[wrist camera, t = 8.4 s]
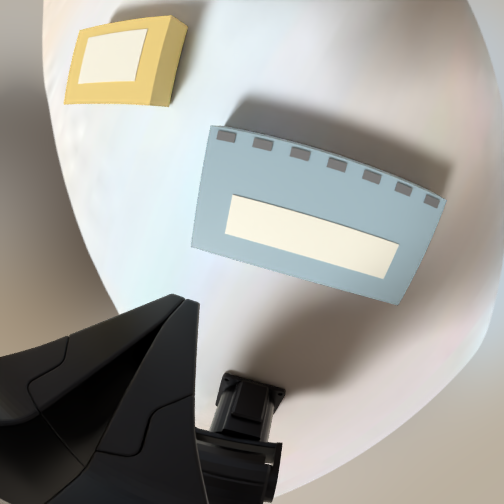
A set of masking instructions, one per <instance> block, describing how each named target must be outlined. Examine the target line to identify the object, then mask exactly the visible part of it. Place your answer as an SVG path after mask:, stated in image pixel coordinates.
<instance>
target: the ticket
mask: <svg viewBox="0 0 504 504" xmlns="http://www.w3.org/2000/svg"><path fill="white" fill-rule="evenodd" d="M446 201H447V200H445V199H444V198H442V197H440V196H439V195H437V194H435V193H434V192H432V191H430V190H428V189H426V188H424V187H422V186H419V185H417V184H415V183H412V182H410V181H408V180H405V179H403V178H401V177H398V176H396V175H393V174H391V173H388V172H386V171H383V170H380V169H378V168H375V167H372V166H370V165H367V164H364V163H361V162H359V161H356V160H353V159H350V158H347V157H344V156H341V155H338V154H335V153H331V152H328V151H325V150H322V149H318V148H315V147H312V146H308V145H305V144H301V143H297V142H294V141H290V140H286V139H282V138H278V137H274V136H270V135H265V134H261V133H257V132H252V131H247V130H243V129H238V128H233V127H227V126H210V131H209V136H208V142H207V147H206V152H205V158H204V163H203V169H202V175H201V181H200V187H199V193H198V199H197V206H196V213H195V220H194V227H193V234H192V242H191V247H193V248H196V249H199V250H203V251H206V252H210V253H213V254H216V255H220V256H223V257H227V258H230V259H234V260H237V261H240V262H244V263H247V264H251V265H254V266H258V267H261V268H265V269H268V270H272V271H275V272H279V273H282V274H286V275H289V276H293V277H296V278H300V279H303V280H307V281H311V282H314V283H318V284H321V285H325V286H329V287H332V288H336V289H339V290H343V291H347V292H350V293H354V294H358V295H361V296H365V297H369V298H372V299H376V300H380V301H383V302H387V303H391V304H395V305H399V303H400V301H401V299H402V298H403V296H404V294H405V292H406V290H407V288H408V286H409V285H410V283H411V281H412V279H413V277H414V275H415V273H416V271H417V269H418V267H419V265H420V263H421V261H422V259H423V256H424V254H425V252H426V250H427V248H428V246H429V243H430V241H431V239H432V236H433V234H434V232H435V229H436V227H437V224H438V222H439V219H440V217H441V214H442V212H443V209H444V206H445V204H446Z"/></svg>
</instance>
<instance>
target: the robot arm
mask: <svg viewBox="0 0 504 504" xmlns="http://www.w3.org/2000/svg"><path fill="white" fill-rule="evenodd" d="M199 310H200V304H199V303H198V302H196V301H193V300H190V299H186V300H185V298H184V297H181V296H178V295H175V294H169V295H167V296H165V297H162V298H160V299H157V300H155V301H152V302H150V303H147V304H145V305H142V306H140V307H138V308H135V309H133V310H130V311H128V312H125V313H123V314H120V315H118V316H115V317H113V318H110V319H108V320H105V321H103V322H100V323H98V324H95V325H93V326H90V327H88V328H85V329H83V330H80V331H78V332H75V333H73V334H70V335H69V336H65V337H62V338H60V339H57V340H55V341H52V342H49V343H47V344H44V345H41V346H38V347H35V348H31V349H28V350H25V351H21V352H18V353H14V354H10V355H6V356H3V357H0V504H263V502H270V503H271V502H272V500H273V497H274V493H275V489H276V484H277V479H278V473H279V466H280V458H281V451H282V443H278V442H277V443H271V442H268V438H269V433H270V428H271V422H272V417H273V414H274V413H275V411H276V409H277V408H278V406H279V404H280V403H281V401H282V399H283V398H284V396H285V392H286V391H285V390H284V389H282V388H277V387H273V386H269V385H265V384H261V383H258V382H254V381H250V380H247V379H243V378H240V377H236V376H233V375H229V374H224V375H223V377H222V380H221V384H220V388H219V392H218V396H217V400H216V406H217V410H216V413H215V415H214V418H213V421H212V424H211V427H210V430H209V431H207V430H203V429H199V428H197V427H195V377H196V356H197V339H198V323H199ZM265 463H271V465H269V464H265Z"/></svg>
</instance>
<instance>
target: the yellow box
mask: <svg viewBox="0 0 504 504" xmlns="http://www.w3.org/2000/svg"><path fill="white" fill-rule="evenodd" d="M187 29H188V26H186V25H185V24H183V23H182V22H181V21H179V20H178V19H176V18H175V17H173V16H172V15H170V16H157V17H147V18H139V19H132V20H126V21H120V22H114V23H109V24H104V25H99V26H95V27H91V28H87V29H83V30H80V31H79V34H78V38H77V42H76V45H75V49H74V53H73V57H72V62H71V66H70V71H69V76H68V81H67V87H66V93H65V99H64V104H136V105H152V106H165V107H169V104H170V99H171V94H172V89H173V84H174V80H175V75H176V71H177V67H178V63H179V59H180V55H181V51H182V47H183V43H184V40H185V36H186V33H187Z"/></svg>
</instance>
